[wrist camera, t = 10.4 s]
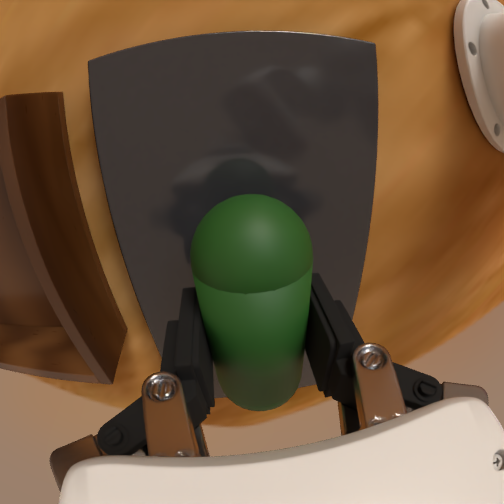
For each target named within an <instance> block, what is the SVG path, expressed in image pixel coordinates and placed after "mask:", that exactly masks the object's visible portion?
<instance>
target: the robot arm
mask: <svg viewBox="0 0 504 504" xmlns="http://www.w3.org/2000/svg"><path fill="white" fill-rule="evenodd" d="M454 42H455V52H456V57H457V63H458V68H459V72H460V76H461V80H462V84H463V87H464V90H465V93H466V96H467V100H468V103H469V105H470V107H471V110H472V112H473V115H474V117H475V120H476V122H477V123H478V125H479V127H480V129H481V131H482V133H483V134H484V136H485V137H486V138H487V140H488V141H489V143H490V144H491V145H492V146H494V147H495V148H496V149H497V150H499V151H501V152H503V153H504V6H503V5H502V4H501V3H499V2H498V1H497V0H460V2H459V4H458V6H457V8H456V12H455V17H454ZM305 351H306V354H307V357H308V360H309V363H310V366H311V369H312V372H313V375H314V378H315V381H316V384H317V387H318V390H319V391H323V392H324V395H325V397H329V396H332V398H333V399H334V400H336V401H338V409H339V418H340V427H341V436H339V437H336V438H331V439H328V440H324V441H320V442H315V443H311V444H306V445H301V446H296V447H292V448H285V449H280V450H274V451H266V452H260V453H251V454H242V455H230V456H215V457H210V455H209V452H208V448H207V444H206V441H205V437H204V434H203V429H202V426H201V422H202V421H204V420H205V419H206V418H207V415H206V414H210V407H214V406H215V401H214V378H213V359H212V355H211V351H210V347H209V343H208V339H207V335H206V331H205V327H204V323H203V318H202V314H201V310H200V306H199V301H198V297H197V292H196V288H195V287H190V288H183V290H182V297H181V305H180V313H179V320H171V321H168V322H167V327H166V333H165V340H164V347H163V354H162V362H161V369H160V372H157V373H153V374H152V375H150V376H149V377H148V378H147V379H146V380H145V381H144V383H143V385H142V396H141V397H140V398H139V399H137V400H136V401H135V402H133V403H132V404H131V405H130V406H128V407H127V408H126V409H124V410H123V411H122V412H120V413H119V414H118V415H116V416H115V417H113V418H112V419H111V420H109V421H108V422H107V423H105V424H104V425H103V426H102V427H101V428H100V430H99V432H98V434H97V435H95V436H93V435H89V436H86V437H84V438H82V439H80V440H77V441H75V442H72V443H70V444H68V445H65V446H63V447H60V448H58V449H56V450H55V451H53V452H52V454H51V456H50V466H51V469H52V472H53V474H54V477H55V480H56V482H57V485H58V487H59V490H60V492H61V493H60V499H59V504H504V430H503V428H502V426H501V424H500V422H499V421H498V419H497V418H496V416H495V415H494V413H493V412H492V411H491V409H490V408H489V407H488V395H487V393H486V391H485V390H484V389H483V388H482V387H479V386H475V385H466V384H458V383H450V382H443V383H442V384H440V383H439V382H438V381H437V380H436V379H435V378H434V377H432V376H429V375H426V374H424V373H421V372H418V371H415V370H412V369H410V368H407V367H404V366H402V365H399V364H396V363H394V362H392V359H391V356H390V354H389V352H388V351H387V350H386V349H385V348H384V347H383V346H381V345H379V344H376V343H364V341H363V339H362V338H361V336H360V334H359V332H358V330H357V328H356V327H355V325H354V323H353V321H352V319H351V317H350V316H349V314H348V312H347V310H346V308H345V307H344V305H343V303H342V302H341V301H340V300H333V298H332V296H331V294H330V292H329V290H328V289H327V287H326V285H325V283H324V281H323V280H322V278H321V276H320V274H319V273H312V281H311V293H310V305H309V315H308V325H307V335H306V343H305Z"/></svg>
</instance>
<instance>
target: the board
mask: <svg viewBox="0 0 504 504" xmlns="http://www.w3.org/2000/svg"><path fill="white" fill-rule="evenodd" d="M88 73H89V88H90V99H91V109H92V118H93V125H94V132H95V139H96V145H97V151H98V157H99V163H100V168H101V173H102V178H103V183H104V187H105V192H106V196H107V200H108V204H109V208H110V212H111V216H112V220H113V224H114V228H115V231H116V235H117V238H118V242H119V245H120V248H121V252H122V255H123V258H124V261H125V264H126V268H127V271H128V274H129V277H130V279H131V282H132V285H133V288H134V291H135V294H136V296H137V299H138V302H139V304H140V307H141V310H142V312H143V315H144V317H145V320H146V322H147V325H148V327H149V330H150V332H151V334H152V337H153V339H154V341H155V344H156V346H157V348H158V351H159V353H160V355H161V357H162V354H163V347H164V340H165V333H166V327H167V322H168V321H171V320H179V313H180V305H181V297H182V290H183V288H190V287H195V283H194V279H193V274H192V269H191V258H190V249H191V243H192V239H193V236H194V234H195V231H196V228H197V226H198V224H199V223H200V222H201V220H202V219H203V217H204V216H205V215H206V214H207V213H208V212H209V211H210V210H211V209H212V208H213V207H214V206H216V205H217V204H219V203H221V202H223V201H224V200H226V199H228V198H231V197H234V196H238V195H244V194H260V195H266V196H269V197H272V198H274V199H277V200H279V201H281V202H283V203H284V204H286V205H287V206H289V207H290V208H291V209H292V210H293V211H294V212H295V213H296V214H297V215H298V216H299V217H300V218H301V219H302V221H303V223H304V225H305V226H306V228H307V230H308V232H309V235H310V238H311V242H312V250H313V267H312V273H319V274H320V276H321V278H322V280H323V281H324V283H325V285H326V287H327V289H328V290H329V292H330V294H331V296H332V298H333V300H340V301H341V302H342V303H343V305H344V307H345V308H346V310H347V312H348V314H349V316H350V317H351V319H353V315H354V310H355V306H356V302H357V297H358V292H359V287H360V282H361V277H362V272H363V267H364V261H365V255H366V249H367V243H368V236H369V229H370V222H371V214H372V205H373V196H374V186H375V174H376V160H377V140H378V77H377V58H376V45H375V43H372V42H367V41H363V40H357V39H352V38H346V37H340V36H333V35H325V34H316V33H305V32H291V31H234V32H219V33H209V34H200V35H192V36H185V37H179V38H173V39H167V40H162V41H157V42H152V43H148V44H143V45H139V46H135V47H131V48H127V49H124V50H120V51H117V52H113V53H110V54H107V55H104V56H101V57H98V58H95V59H92V60H89V61H88ZM213 378H214V398H223V397H227V396H226V395H225V393H224V392H223V390H222V388H221V386H220V384H219V381H218V377H217V374H216V370H215V366H214V363H213ZM311 385H316V381H315V378H314V375H313V372H312V369H311V366H310V363H309V360H308V357H307V354H306V351H305V352H304V360H303V368H302V375H301V380H300V383H299V386H298V388H300V387H305V386H311Z"/></svg>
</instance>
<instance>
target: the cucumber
mask: <svg viewBox="0 0 504 504" xmlns="http://www.w3.org/2000/svg"><path fill="white" fill-rule="evenodd" d="M190 258H191V269H192V274H193V279H194V283H195V288H196V292H197V297H198V301H199V306H200V310H201V314H202V318H203V323H204V327H205V331H206V335H207V339H208V343H209V347H210V351H211V355H212V359H213V363H214V366H215V370H216V374H217V377H218V381H219V384H220V386H221V388H222V390H223V392H224V393H225V395H226V396H227V397H228V398H229V399H230V400H231V401H232V402H234V403H235V404H236V405H238V406H240V407H242V408H244V409H248V410H252V411H267V410H271V409H274V408H277V407H279V406H281V405H282V404H284V403H285V402H287V401H288V400H289V399H290V398H291V397H292V396H293V395H294V393H295V392H296V390H297V388H298V386H299V383H300V380H301V375H302V368H303V360H304V352H305V343H306V335H307V325H308V315H309V305H310V293H311V281H312V267H313V250H312V242H311V238H310V235H309V232H308V230H307V228H306V226H305V225H304V223H303V221H302V219H301V218H300V217H299V216H298V215H297V214H296V213H295V212H294V211H293V210H292V209H291V208H290V207H289V206H287V205H286V204H284V203H283V202H281V201H279V200H277V199H274V198H272V197H269V196H266V195H260V194H244V195H238V196H234V197H231V198H228V199H226V200H224V201H223V202H221V203H219V204H217V205H216V206H214V207H213V208H212V209H211V210H210V211H209V212H208V213H207V214H206V215H205V216H204V217H203V219H202V220H201V222H200V223H199V224H198V226H197V228H196V231H195V234H194V236H193V239H192V243H191V249H190Z"/></svg>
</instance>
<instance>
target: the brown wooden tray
mask: <svg viewBox="0 0 504 504" xmlns="http://www.w3.org/2000/svg"><path fill="white" fill-rule="evenodd" d="M126 333H127V327H126V325H125V323H124V320H123V318H122V316H121V314H120V311H119V309H118V307H117V305H116V302H115V300H114V297H113V295H112V292H111V290H110V288H109V285H108V282H107V280H106V277H105V275H104V272H103V269H102V266H101V264H100V261H99V258H98V255H97V252H96V249H95V246H94V243H93V240H92V237H91V234H90V231H89V227H88V224H87V220H86V217H85V213H84V210H83V206H82V202H81V198H80V194H79V190H78V186H77V182H76V177H75V173H74V168H73V163H72V158H71V152H70V147H69V141H68V134H67V127H66V120H65V111H64V101H63V92H43V93H26V94H15V95H6V96H3V97H2V98H0V368H2V369H6V370H10V371H15V372H19V373H24V374H30V375H35V376H41V377H47V378H54V379H61V380H69V381H78V382H88V383H101V384H113V381H114V377H115V373H116V369H117V365H118V361H119V357H120V354H121V350H122V347H123V343H124V339H125V336H126Z"/></svg>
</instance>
